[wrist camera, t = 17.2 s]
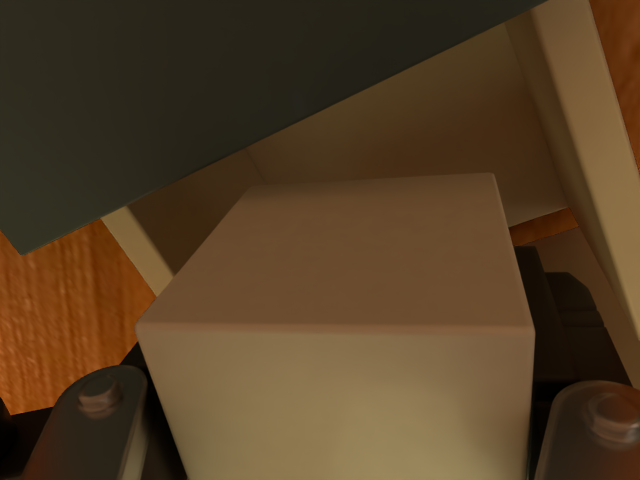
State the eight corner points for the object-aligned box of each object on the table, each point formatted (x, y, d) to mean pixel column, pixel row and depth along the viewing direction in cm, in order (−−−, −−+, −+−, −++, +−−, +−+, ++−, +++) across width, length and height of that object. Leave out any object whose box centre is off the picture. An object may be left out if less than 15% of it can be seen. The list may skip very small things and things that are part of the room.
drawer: (665, 347, 18) (794, 570, 12) (374, 413, 23) (347, 603, 16) (488, -223, 12) (545, -438, 6) (137, 13, 17) (-68, 48, 10)
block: (494, 170, 9) (536, 330, 5) (492, 372, 11) (520, 599, 7) (248, 184, 10) (128, 325, 6) (286, 365, 12) (214, 559, 8)
